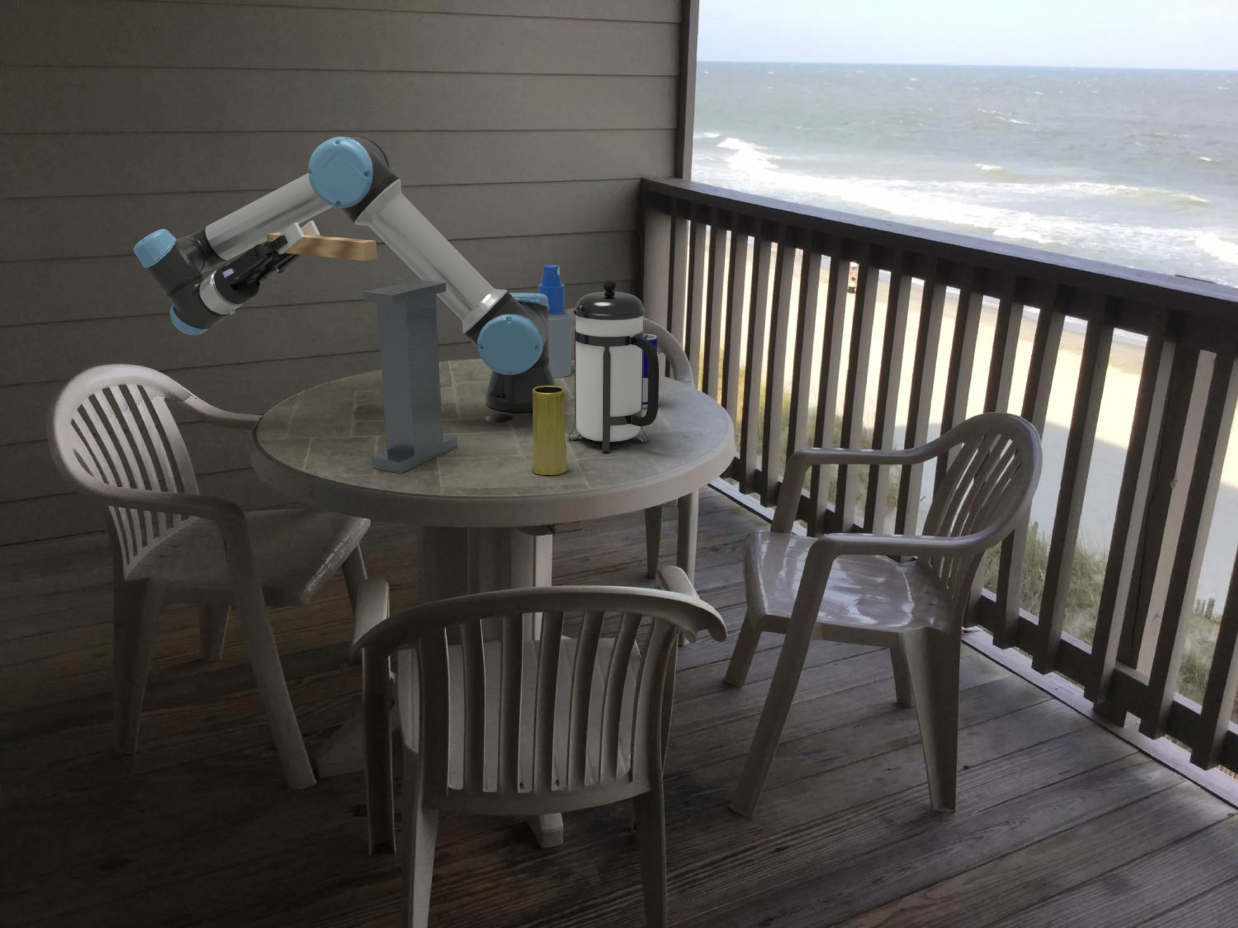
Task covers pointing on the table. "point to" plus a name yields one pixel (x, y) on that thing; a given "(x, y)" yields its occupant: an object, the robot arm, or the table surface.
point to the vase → (548, 431)
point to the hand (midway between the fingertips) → (307, 229)
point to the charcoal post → (410, 374)
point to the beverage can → (645, 369)
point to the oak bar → (332, 247)
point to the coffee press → (612, 368)
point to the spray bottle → (557, 322)
